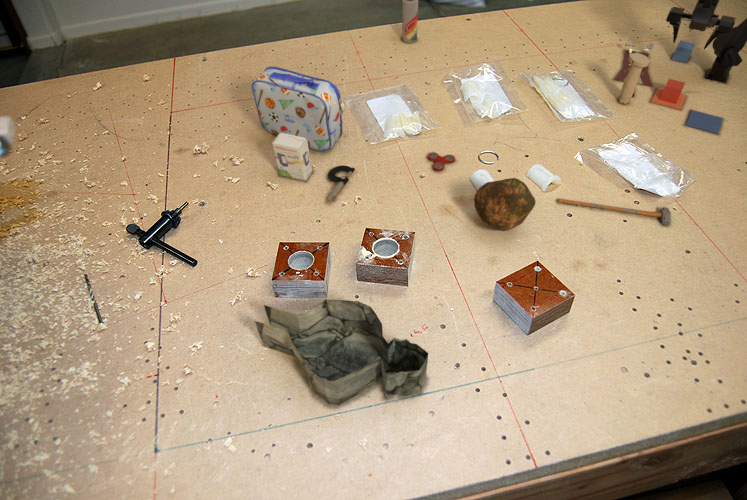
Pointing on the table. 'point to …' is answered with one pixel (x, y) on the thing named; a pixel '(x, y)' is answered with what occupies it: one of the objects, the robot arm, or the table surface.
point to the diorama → (626, 65)
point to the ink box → (292, 156)
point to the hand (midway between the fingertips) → (689, 45)
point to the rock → (504, 203)
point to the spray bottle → (409, 20)
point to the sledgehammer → (627, 210)
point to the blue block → (683, 51)
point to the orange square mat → (665, 103)
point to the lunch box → (299, 106)
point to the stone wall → (345, 350)
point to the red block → (672, 91)
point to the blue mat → (704, 122)
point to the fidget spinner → (440, 160)
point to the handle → (633, 76)
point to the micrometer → (338, 180)
